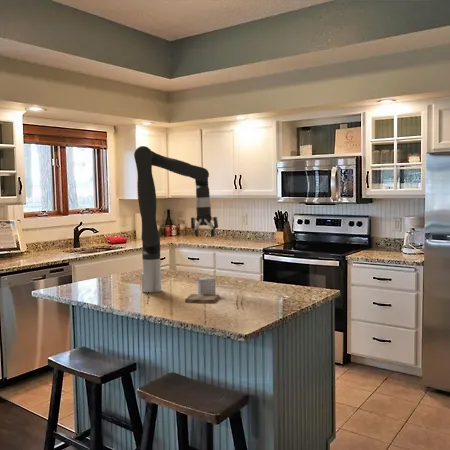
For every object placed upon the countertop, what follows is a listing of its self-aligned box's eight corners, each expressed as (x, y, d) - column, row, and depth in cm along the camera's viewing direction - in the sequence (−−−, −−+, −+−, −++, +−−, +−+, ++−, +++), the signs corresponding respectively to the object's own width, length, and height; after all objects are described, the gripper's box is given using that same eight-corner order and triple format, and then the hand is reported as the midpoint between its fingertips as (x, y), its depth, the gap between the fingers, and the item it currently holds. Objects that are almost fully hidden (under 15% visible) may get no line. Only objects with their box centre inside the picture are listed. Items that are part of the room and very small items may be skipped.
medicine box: (213, 293, 250) (212, 277, 249) (215, 295, 246) (215, 278, 245) (198, 295, 248) (197, 278, 247) (200, 297, 243) (200, 279, 243)
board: (185, 302, 233) (185, 299, 233) (191, 297, 244) (191, 294, 244) (214, 303, 231) (214, 299, 231) (219, 297, 241) (218, 294, 241)
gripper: (188, 206, 258) (189, 237, 259) (213, 206, 254) (215, 237, 255) (193, 206, 265) (194, 236, 266) (218, 205, 261) (220, 235, 262)
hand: (205, 236), depth 261 cm, fingers open, 8 cm apart
